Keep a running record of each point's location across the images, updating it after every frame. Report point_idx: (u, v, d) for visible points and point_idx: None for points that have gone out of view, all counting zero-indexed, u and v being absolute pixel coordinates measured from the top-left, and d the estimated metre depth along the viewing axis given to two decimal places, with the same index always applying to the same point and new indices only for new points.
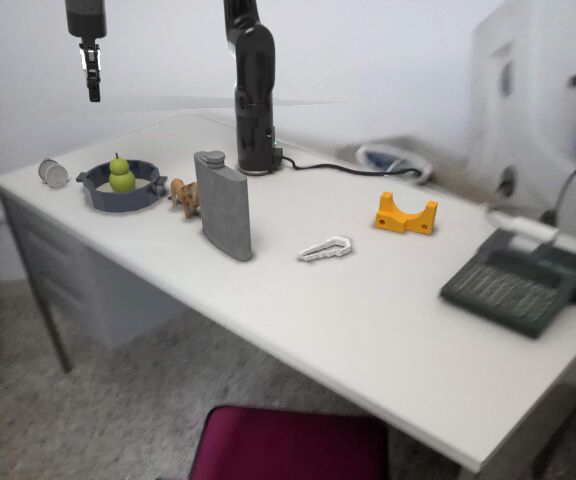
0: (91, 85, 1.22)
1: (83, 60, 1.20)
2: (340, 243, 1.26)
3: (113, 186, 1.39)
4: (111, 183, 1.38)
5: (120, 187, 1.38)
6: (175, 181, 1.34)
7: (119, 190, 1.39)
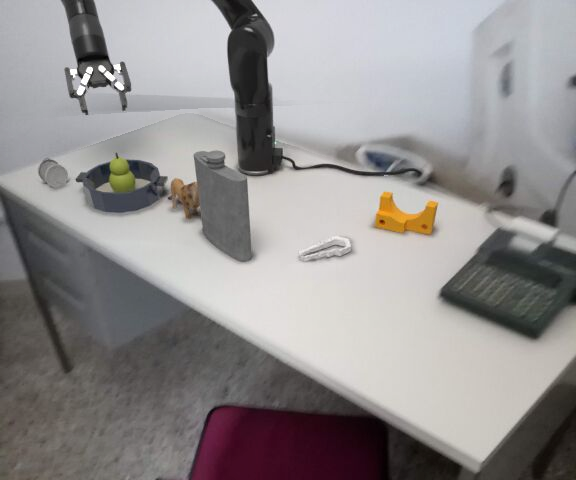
0: None
1: None
2: (340, 243, 1.26)
3: (113, 186, 1.39)
4: (111, 183, 1.38)
5: (120, 187, 1.38)
6: (175, 181, 1.34)
7: (119, 190, 1.39)
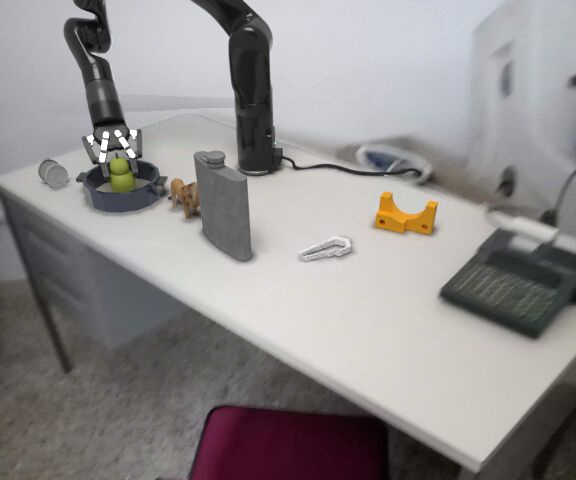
0: None
1: None
2: (340, 243, 1.26)
3: (113, 186, 1.39)
4: (111, 183, 1.38)
5: (120, 187, 1.38)
6: (175, 181, 1.34)
7: (119, 190, 1.39)
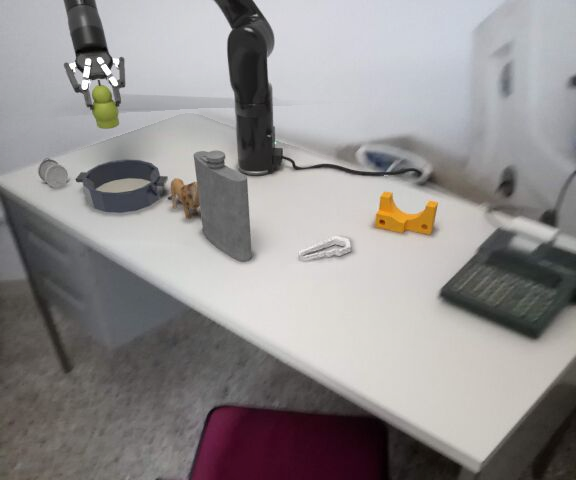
0: (83, 94, 1.37)
1: None
2: (340, 243, 1.26)
3: (96, 115, 1.38)
4: (94, 112, 1.38)
5: (103, 116, 1.38)
6: (175, 181, 1.34)
7: (102, 119, 1.38)
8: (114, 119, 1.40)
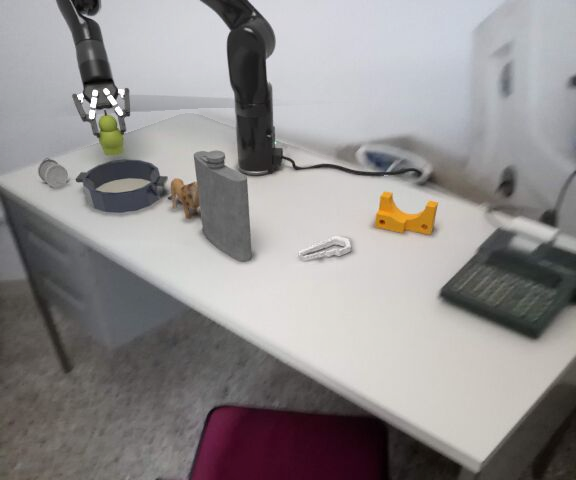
0: (90, 123, 1.45)
1: None
2: (340, 243, 1.26)
3: (102, 142, 1.46)
4: (100, 139, 1.46)
5: (109, 143, 1.45)
6: (175, 181, 1.34)
7: (108, 146, 1.46)
8: (119, 146, 1.47)
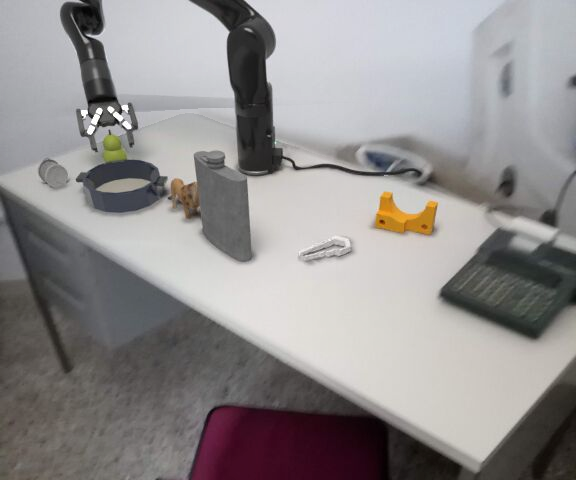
0: None
1: None
2: (340, 243, 1.26)
3: (106, 161, 1.49)
4: (104, 158, 1.49)
5: None
6: (175, 181, 1.34)
7: None
8: None
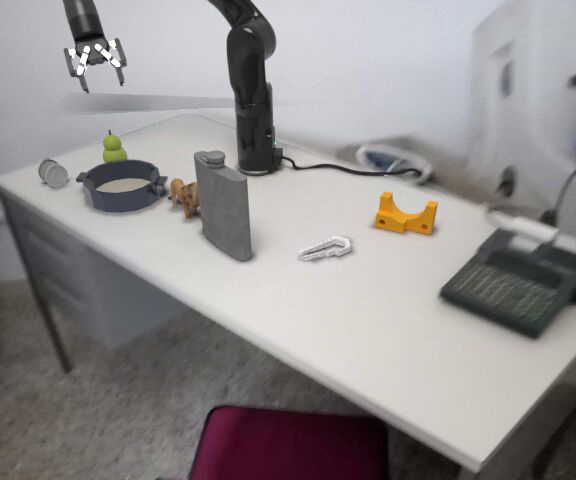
0: (79, 79, 1.47)
1: None
2: (340, 243, 1.26)
3: (106, 161, 1.49)
4: (104, 158, 1.49)
5: None
6: (175, 181, 1.34)
7: None
8: None
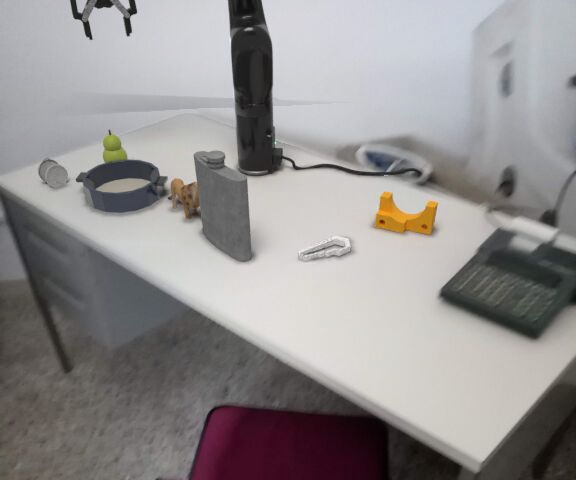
0: (82, 21, 1.36)
1: None
2: (340, 243, 1.26)
3: (106, 161, 1.49)
4: (104, 158, 1.49)
5: None
6: (175, 181, 1.34)
7: None
8: None
